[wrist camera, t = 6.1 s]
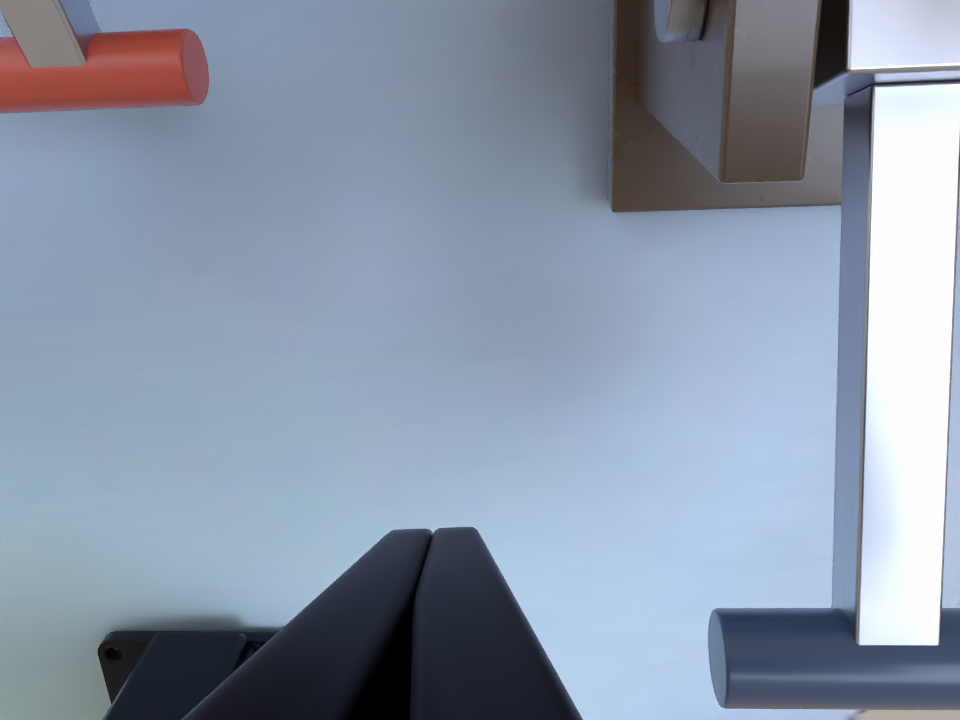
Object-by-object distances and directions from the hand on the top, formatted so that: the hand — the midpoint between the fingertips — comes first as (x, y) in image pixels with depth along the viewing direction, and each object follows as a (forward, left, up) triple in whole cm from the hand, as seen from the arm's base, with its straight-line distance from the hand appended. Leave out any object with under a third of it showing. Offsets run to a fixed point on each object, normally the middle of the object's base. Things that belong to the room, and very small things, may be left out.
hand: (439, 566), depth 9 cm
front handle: (+1, -6, -5) cm, 8 cm away
